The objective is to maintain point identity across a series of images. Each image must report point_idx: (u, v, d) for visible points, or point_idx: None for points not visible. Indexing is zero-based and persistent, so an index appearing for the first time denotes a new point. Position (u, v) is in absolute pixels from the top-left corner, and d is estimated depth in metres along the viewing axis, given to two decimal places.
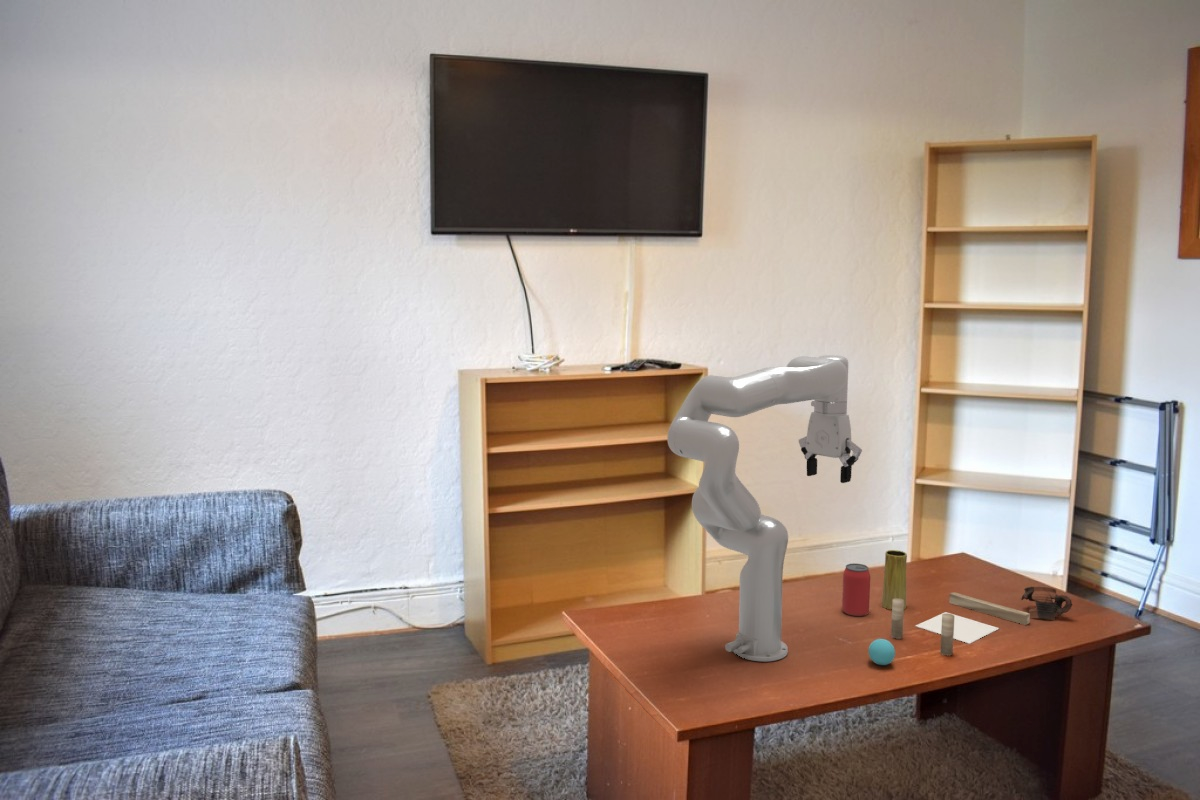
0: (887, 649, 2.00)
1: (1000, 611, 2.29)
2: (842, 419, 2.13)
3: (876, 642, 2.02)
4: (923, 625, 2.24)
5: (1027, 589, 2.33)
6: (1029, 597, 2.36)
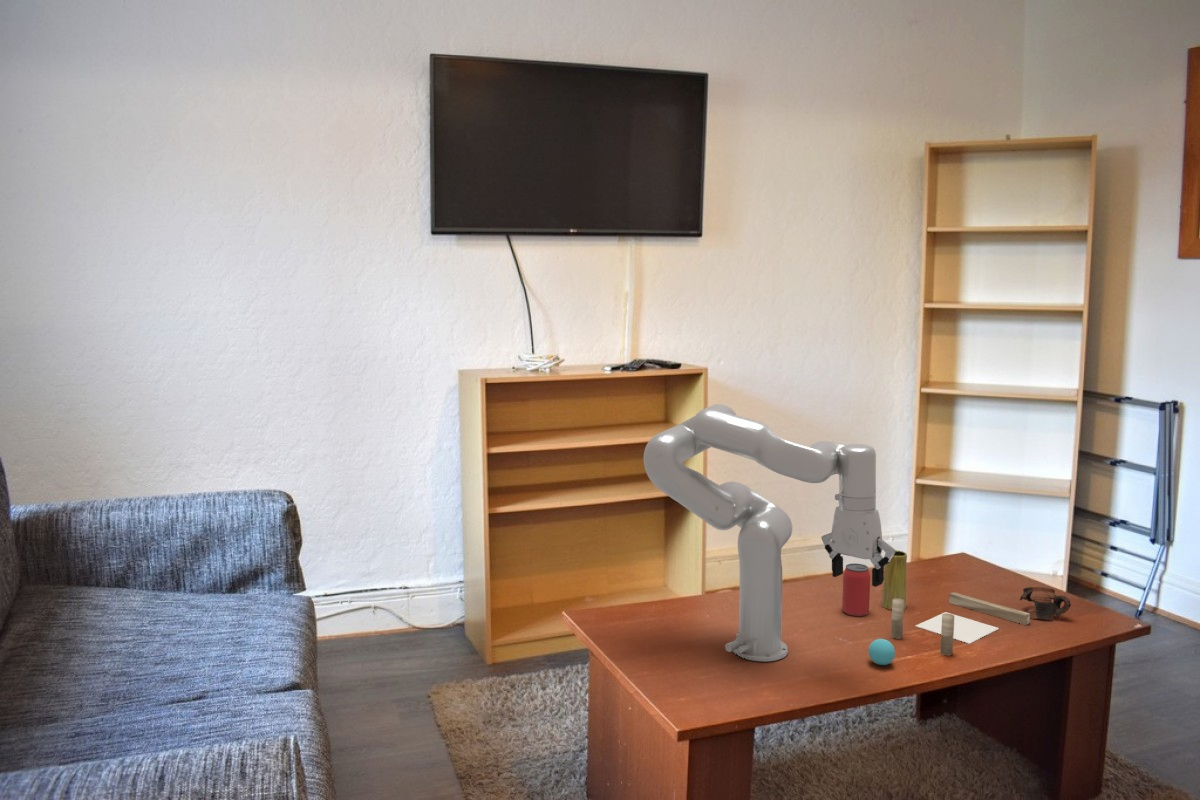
0: (887, 649, 2.00)
1: (1000, 611, 2.29)
2: (872, 516, 1.92)
3: (876, 642, 2.02)
4: (923, 625, 2.24)
5: (1026, 589, 2.33)
6: (1028, 597, 2.36)
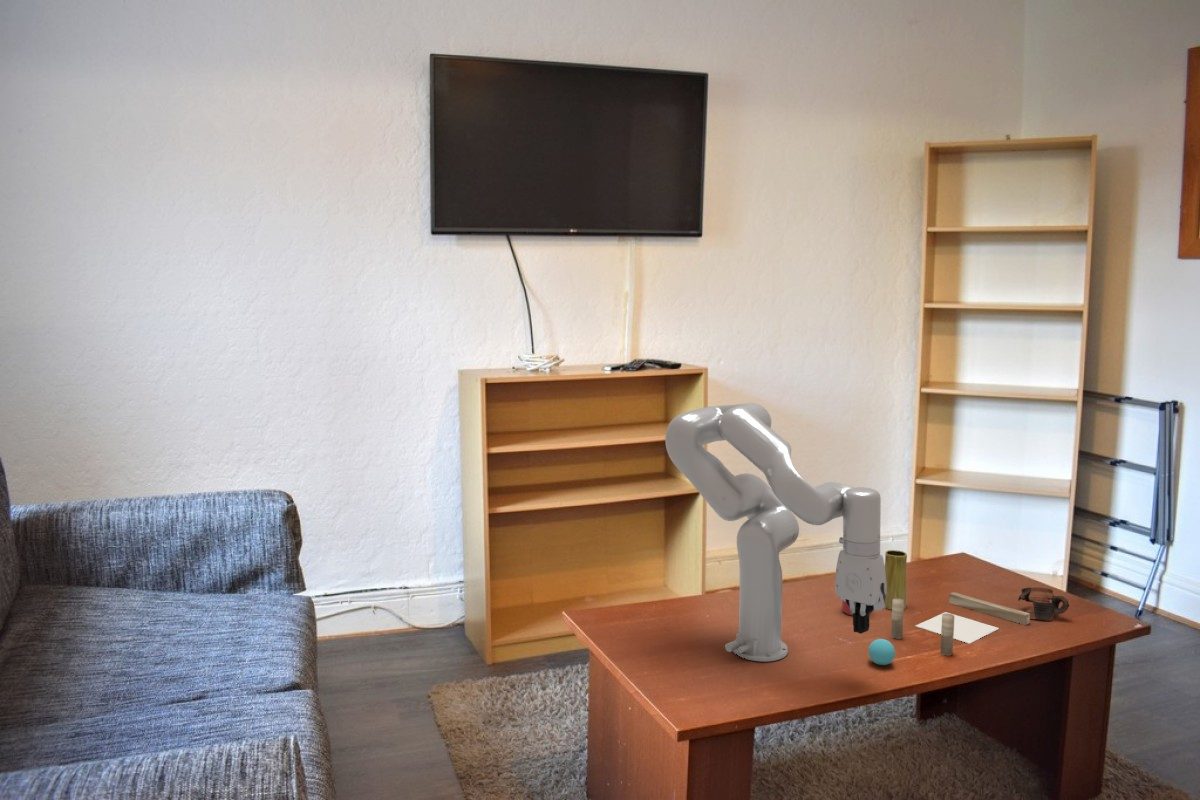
0: (887, 649, 2.00)
1: (1000, 611, 2.29)
2: (875, 562, 1.88)
3: (876, 642, 2.02)
4: (923, 625, 2.24)
5: (1024, 590, 2.32)
6: (1026, 598, 2.35)
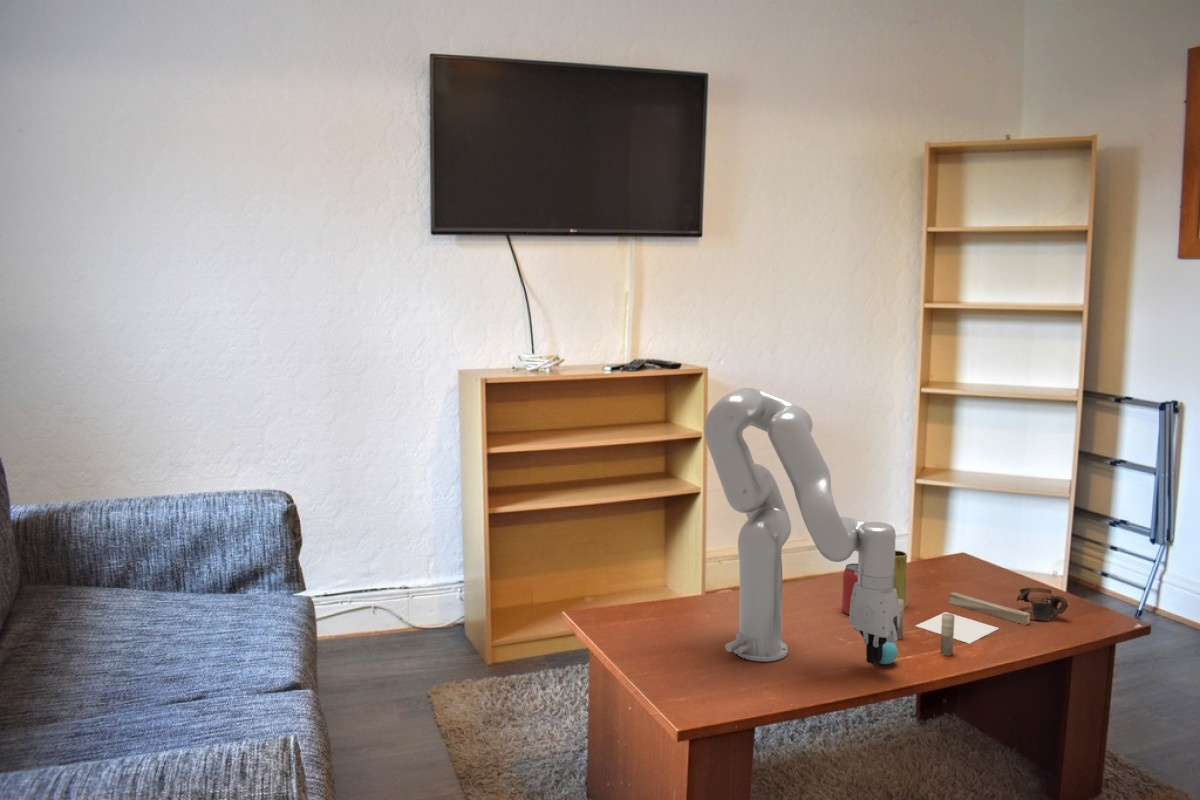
0: (890, 648, 2.00)
1: (1000, 611, 2.29)
2: (889, 596, 1.93)
3: None
4: (923, 625, 2.24)
5: (1023, 590, 2.32)
6: (1024, 598, 2.35)
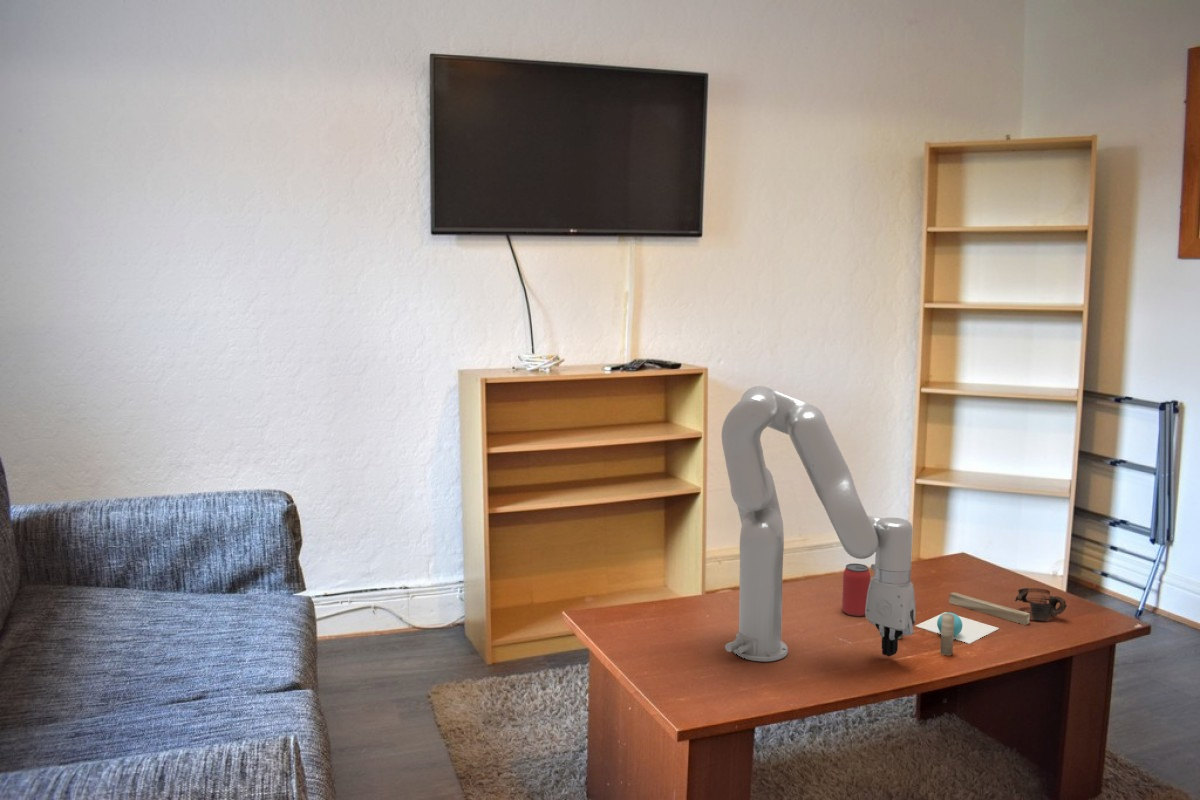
0: None
1: (1000, 611, 2.29)
2: (906, 590, 1.98)
3: None
4: (923, 625, 2.24)
5: (1021, 590, 2.32)
6: (1023, 598, 2.35)
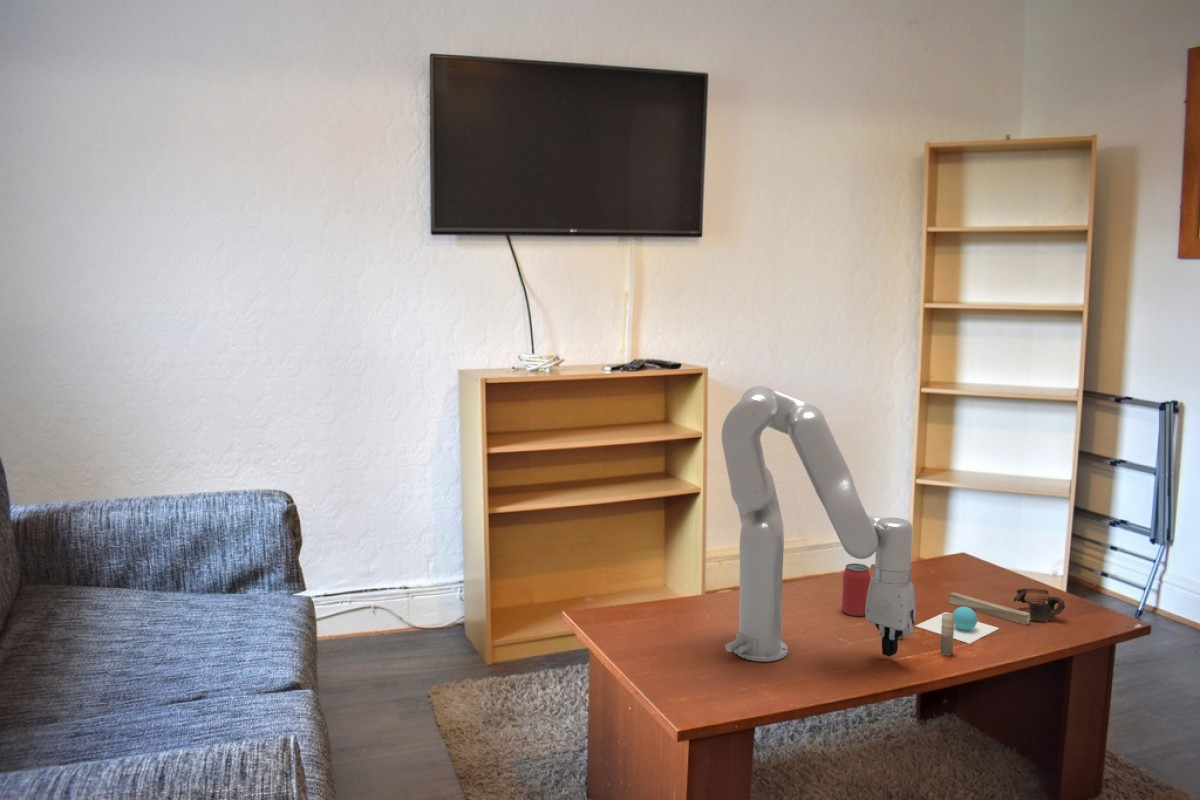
0: (968, 625, 2.19)
1: (1000, 611, 2.29)
2: (906, 590, 1.98)
3: (956, 623, 2.20)
4: (923, 625, 2.24)
5: (1019, 591, 2.31)
6: (1021, 599, 2.35)
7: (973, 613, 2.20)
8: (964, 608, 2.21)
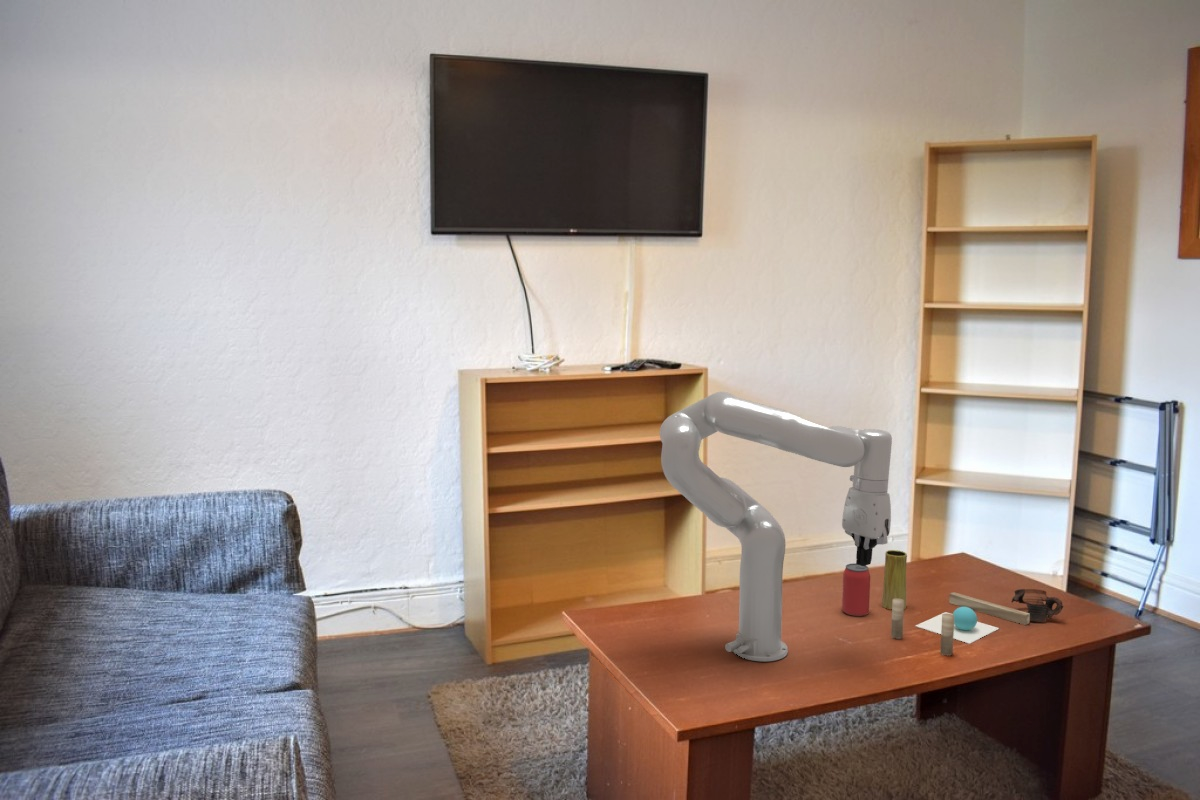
0: (968, 625, 2.19)
1: (1000, 611, 2.29)
2: (882, 498, 2.01)
3: (956, 623, 2.20)
4: (923, 625, 2.24)
5: (1017, 591, 2.31)
6: (1019, 599, 2.34)
7: (973, 613, 2.20)
8: (964, 608, 2.21)
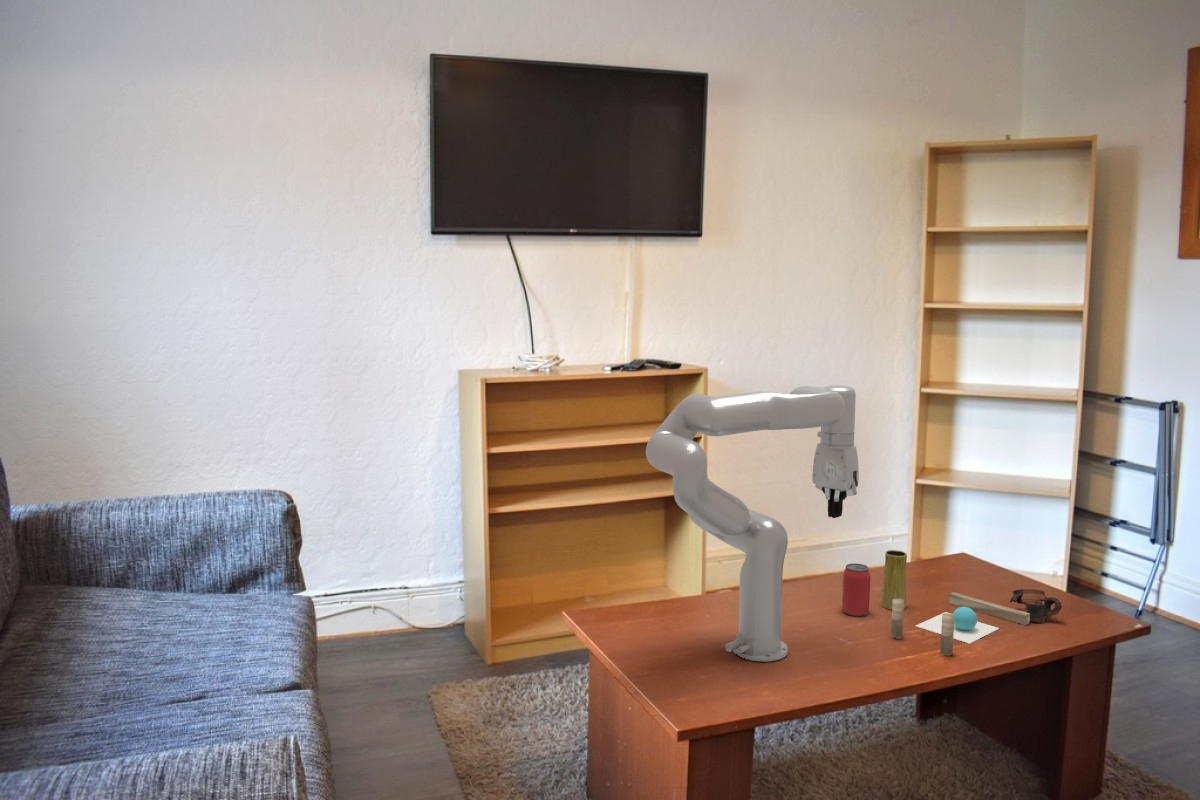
0: (968, 625, 2.19)
1: (1000, 611, 2.29)
2: (849, 451, 2.08)
3: (956, 623, 2.20)
4: (923, 625, 2.24)
5: (1016, 591, 2.31)
6: (1017, 599, 2.34)
7: (973, 613, 2.20)
8: (964, 608, 2.21)
